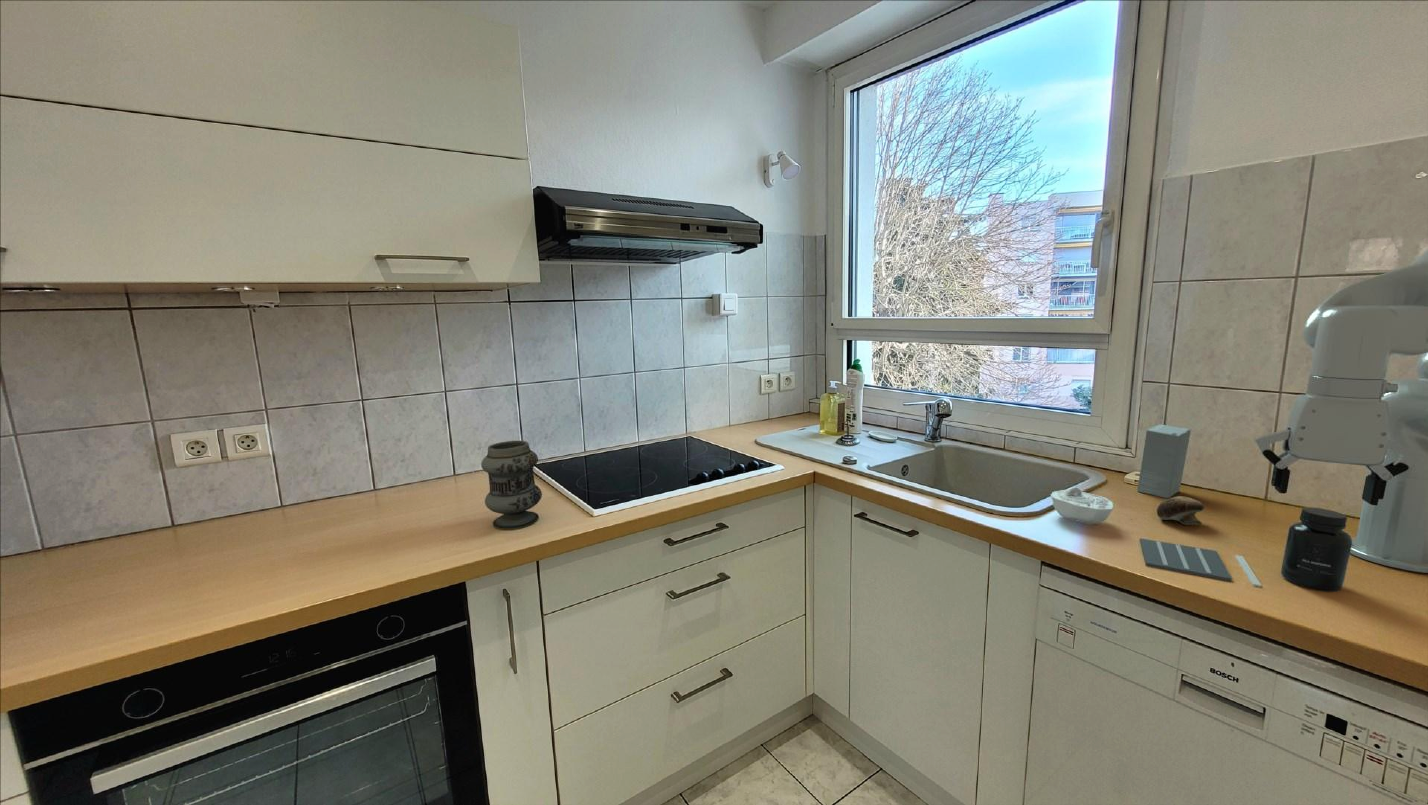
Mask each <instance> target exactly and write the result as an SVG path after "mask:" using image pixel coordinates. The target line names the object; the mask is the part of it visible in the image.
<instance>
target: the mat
mask: <svg viewBox="0 0 1428 805" xmlns="http://www.w3.org/2000/svg"><path fill="white" fill-rule="evenodd" d="M1139 544H1140V547H1141V551H1142V556H1143V560H1144V563H1145V566H1146V567H1147V566H1148V567H1153V568H1158V569H1163V570H1168V571H1173V572H1179V573H1183V574H1190V575H1193V576H1194V575H1195V576H1200V577H1206V578H1211V579H1216V580H1221V581H1226V582H1232V580H1233V579H1232V576H1231V574H1230V572H1229V571H1228V568H1226V566H1225V564H1224V562H1223V560H1222V559H1221V556H1220V555H1219V553H1218V551H1217V550H1212V549H1207V548H1201V547H1195V546H1189V545H1184V544H1178V543H1172V542H1171V543H1170V542H1165V541H1160V540H1153V539H1148V538H1142V537H1141V538H1139Z"/></svg>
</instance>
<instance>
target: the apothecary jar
mask: <svg viewBox="0 0 1428 805" xmlns="http://www.w3.org/2000/svg"><path fill="white" fill-rule="evenodd" d="M538 461H539V457H538V454H537V453H536V452H535V451H533V450H531V447H530V444H529V442H528V441H526V440H507V441H502V442H501V441H500V442H496V443H493V444H490V445H488V447H487V455H485V456H484V458H483V459H482V460H481V463H480V464H481V468H482V470H483V471H484V472H485V473H487V474H488V483H489V492H488V493H487V495H486V496H485V499H484V504H485V506H486V508H487V509H488V510H490V511H491V512H494V513H497V514H501V515H500V516H498V517H496V518H495V519H494V520H493V522H492V527H493V528H494V529H497V530H501V531H511V530H512V531H513V530H519V529H524V528H527V527H530V526H532V525H533V524H535V523H537V522H538V521H539V518H540V515H539V514H538V513H537V512H536V511H535V512H534V511H531V510H530V509H532V508H533V507H535V506H536V505H537V504H539V502H540V501H541V499H542V498H543V496H542V495H543V494H542V489H541V488H540V487H539V486H538V485H536V482H535V481H536V480H535V475H534V467H535V466H536V465H537V464H538ZM529 510H530V511H529Z"/></svg>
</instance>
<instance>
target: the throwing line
mask: <svg viewBox="0 0 1428 805" xmlns="http://www.w3.org/2000/svg"><path fill="white" fill-rule="evenodd" d="M1234 557H1235V559H1236V561H1237V563H1238V564H1239V566H1240V567H1242V568H1241V569H1242V570H1243V572H1244V574H1245V576H1246V575H1247V576H1246V577H1247V579H1248V580H1249V582H1250V584H1251V586H1254V587H1259V588H1261V587H1262V584H1261V582H1260V580H1259V579H1258V577H1257V576H1256V575H1255V573H1254V572H1253V570H1252V568H1251V567H1250V565H1249V564H1248V562H1247V561H1246V560H1245V558H1244V556H1242V555H1237V554H1235V555H1234Z"/></svg>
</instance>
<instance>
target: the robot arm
mask: <svg viewBox="0 0 1428 805" xmlns="http://www.w3.org/2000/svg"><path fill="white" fill-rule="evenodd" d="M1302 335H1303V340H1304V342H1305V343H1306V345H1307V346H1308V347H1310V349H1313V354H1312V359H1311V364H1310V369H1309V376H1308V382H1307V387H1306V393H1305V394H1303V393H1302V394H1298V395H1297V396H1296V398H1295V400H1294V403H1293V405H1292V408H1291V410H1290V412H1289V416H1288V418H1287V423H1286V426H1285V428H1284V430H1279V431H1276V432H1272V433H1267V434H1264V435H1259V436H1257V437H1255V438H1254V442H1255V444H1256V446H1257V448H1258V450H1259V451H1260V454H1261V455H1262V456H1263V457H1264V458H1266V459H1267V460H1268V461H1269V462H1270V464H1272V465H1273V467H1272V468H1273V469H1272V475H1271V482H1270V484H1271V486H1272V487H1274V489H1275V490H1276V492H1278V493H1279V494H1283V495H1284V494H1287V493H1288V487H1289V482H1290V476H1291V470H1290V469H1289V468H1288V467H1289V466H1290V465H1292V464H1294V463H1295V462H1297V461H1299V460H1306V461H1314V462H1315V461H1316V462H1323V463H1324V462H1325V463H1331V464H1332V463H1334V464H1343V465H1344V464H1345V465H1351V466H1352V465H1354V466H1363V467H1364V466H1365V467H1366V468H1367V469H1368V474H1367V475H1366V476H1365V480H1364V484H1363V485H1364V486H1363V490H1362V494H1361V499H1362V500H1363V501H1362V506H1361V511H1360V512H1361V513H1360V517H1359V522H1358V527H1357V532H1356V533H1357V534H1356V536H1352V537H1351V536H1350V537H1351V539H1352V546H1351V551H1350V554H1351V555H1353V556H1355V557H1358V558H1360V559H1364V560H1366V561H1369V562H1371V563H1375V564H1379V565H1382V566H1387V567H1390V568H1395V569H1398V570H1399V569H1400V570H1403V571H1404V570H1405V571H1410V572H1416V573H1423V574H1428V249H1427V250H1425V251H1424V252H1423V253H1422V254H1421V255H1419V257H1417V258H1416V259H1415V260H1414V261H1412V262H1411V263H1410V264H1409V265H1406V266H1403V267H1400V268H1396V269H1393V270H1389V271H1387V272H1384V273H1381V274H1379V275H1376V276H1372V277H1369V278H1367V279H1363V280H1360V281H1358V282H1354V283H1352V284H1349V285H1347V286H1345V287H1343V288H1341V289H1340V290H1338V291H1335V292H1334V293H1332V294H1331V295H1330V296H1329V297H1327V298H1326V299H1325V300H1324V301H1323V302H1322V303H1321V304H1320V305H1318V306H1317V308H1315V309H1314V310H1313V312H1312V313H1311V314H1310V315H1309V317H1308V318H1307V319H1306V322H1305V324H1304V325H1303V331H1302ZM1390 356H1396V357H1399V356H1401V357H1403V356H1404V357H1407V356H1408V357H1409V356H1410V357H1411V356H1412V357H1413V356H1420V357H1419V358H1418V361H1417V363H1416V366H1415V367H1416V368H1415V369H1416V374H1417V376H1418V377H1419V378H1418V377H1417V378H1416V377H1415V378H1402V379H1397V380H1391V381H1389V382H1388V380H1387V379H1386V376H1387V371H1388V365H1389V361H1390ZM1281 441H1282V442H1281ZM1278 442H1281V448H1282V450H1283V452H1280V454H1278V455H1277V454H1276V453H1275V452H1274V451H1273V450H1272V447H1271V445H1272V444H1273V443H1278Z"/></svg>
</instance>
